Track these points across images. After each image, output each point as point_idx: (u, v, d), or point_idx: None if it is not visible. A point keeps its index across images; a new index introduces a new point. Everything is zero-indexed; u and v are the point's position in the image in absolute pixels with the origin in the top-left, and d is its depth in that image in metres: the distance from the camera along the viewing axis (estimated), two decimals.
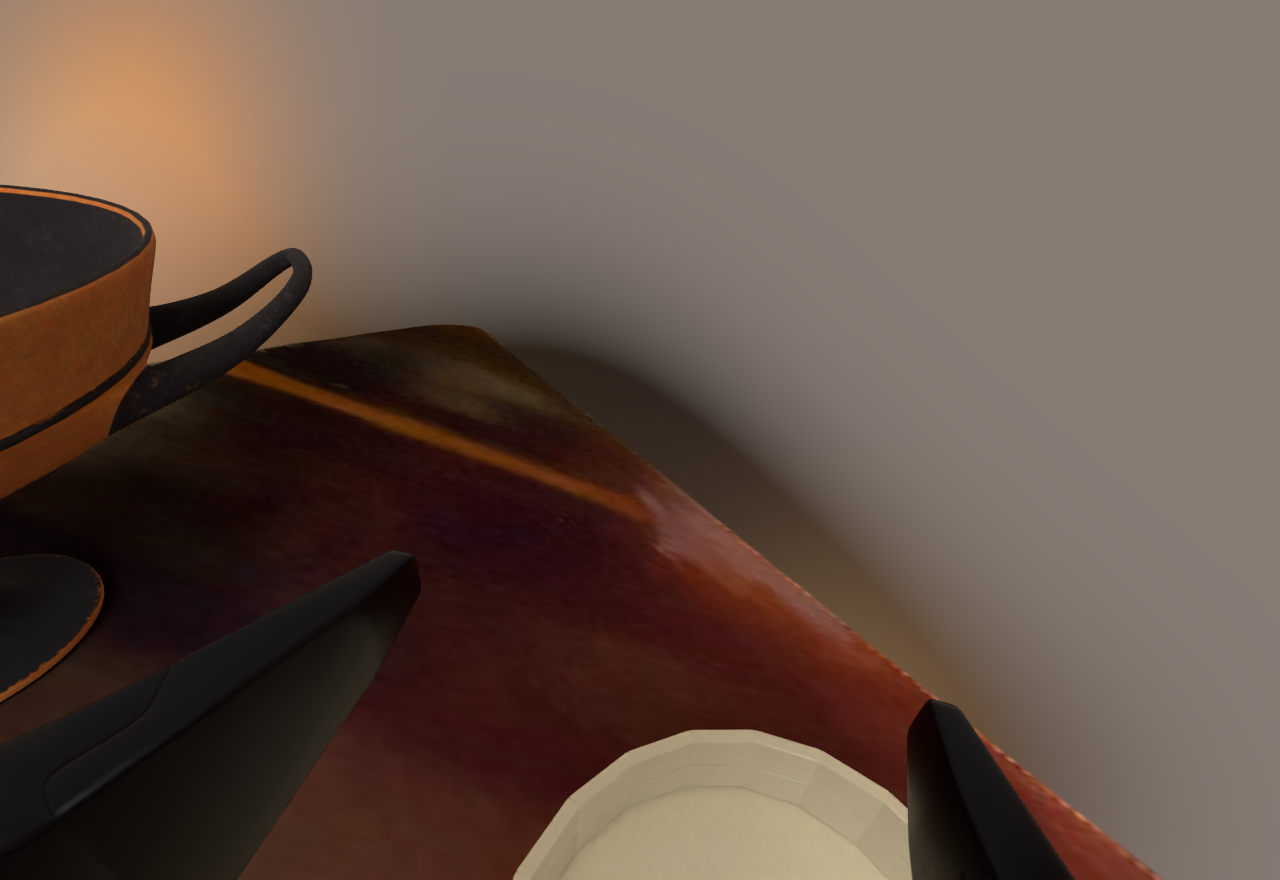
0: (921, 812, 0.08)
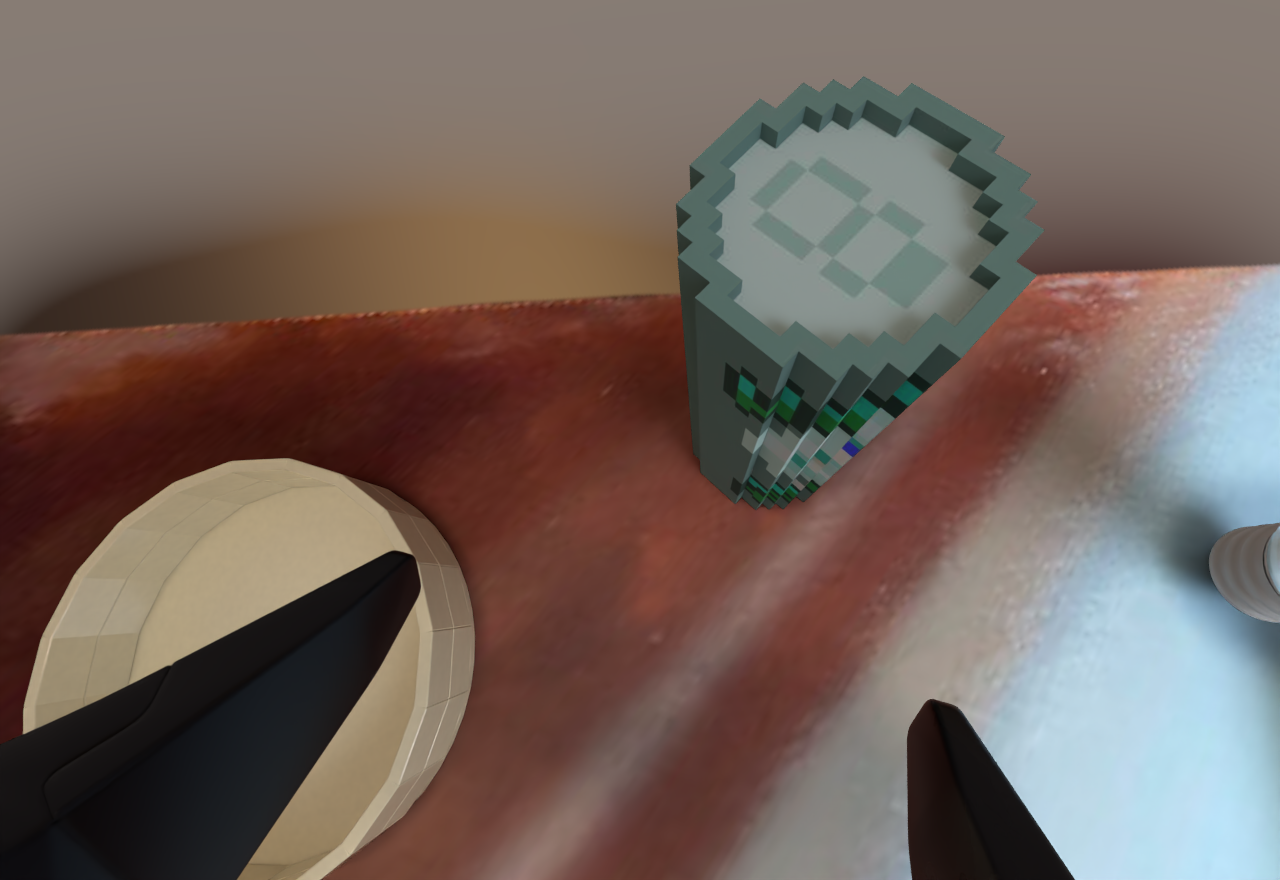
0: (921, 812, 0.08)
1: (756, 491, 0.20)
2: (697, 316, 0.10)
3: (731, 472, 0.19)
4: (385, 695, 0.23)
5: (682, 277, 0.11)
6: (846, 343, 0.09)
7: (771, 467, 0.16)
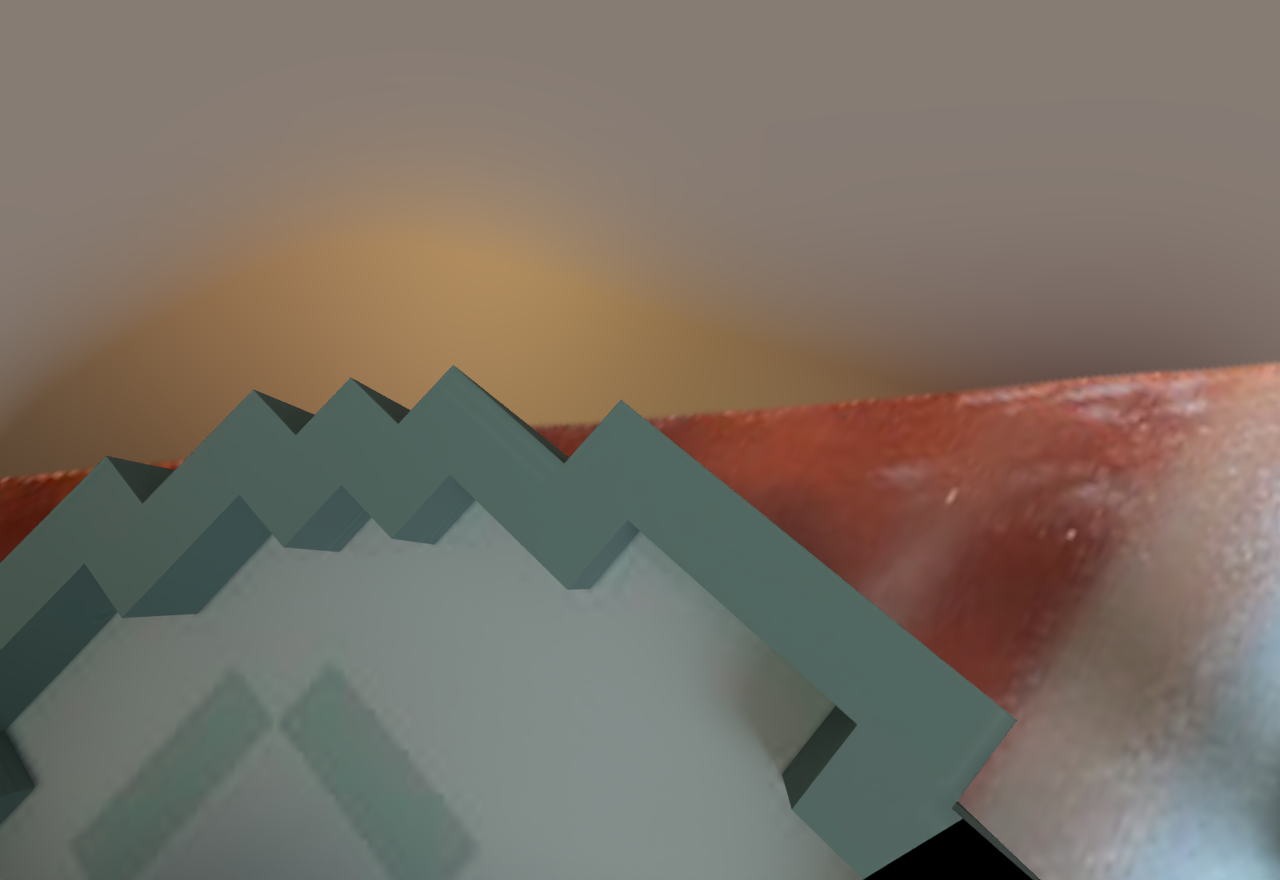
0: None
1: None
2: None
3: None
4: None
5: None
6: None
7: None
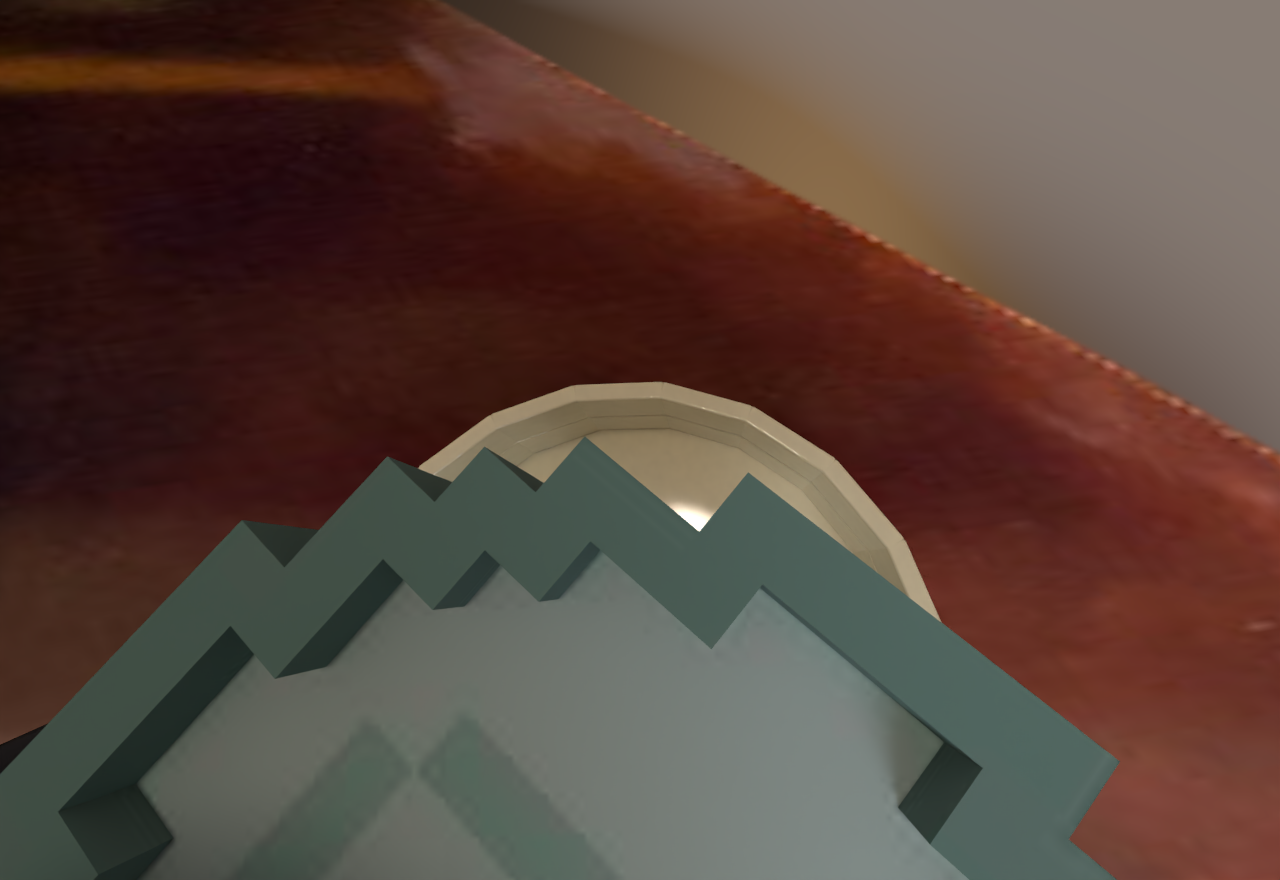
0: None
1: None
2: None
3: None
4: None
5: None
6: None
7: None
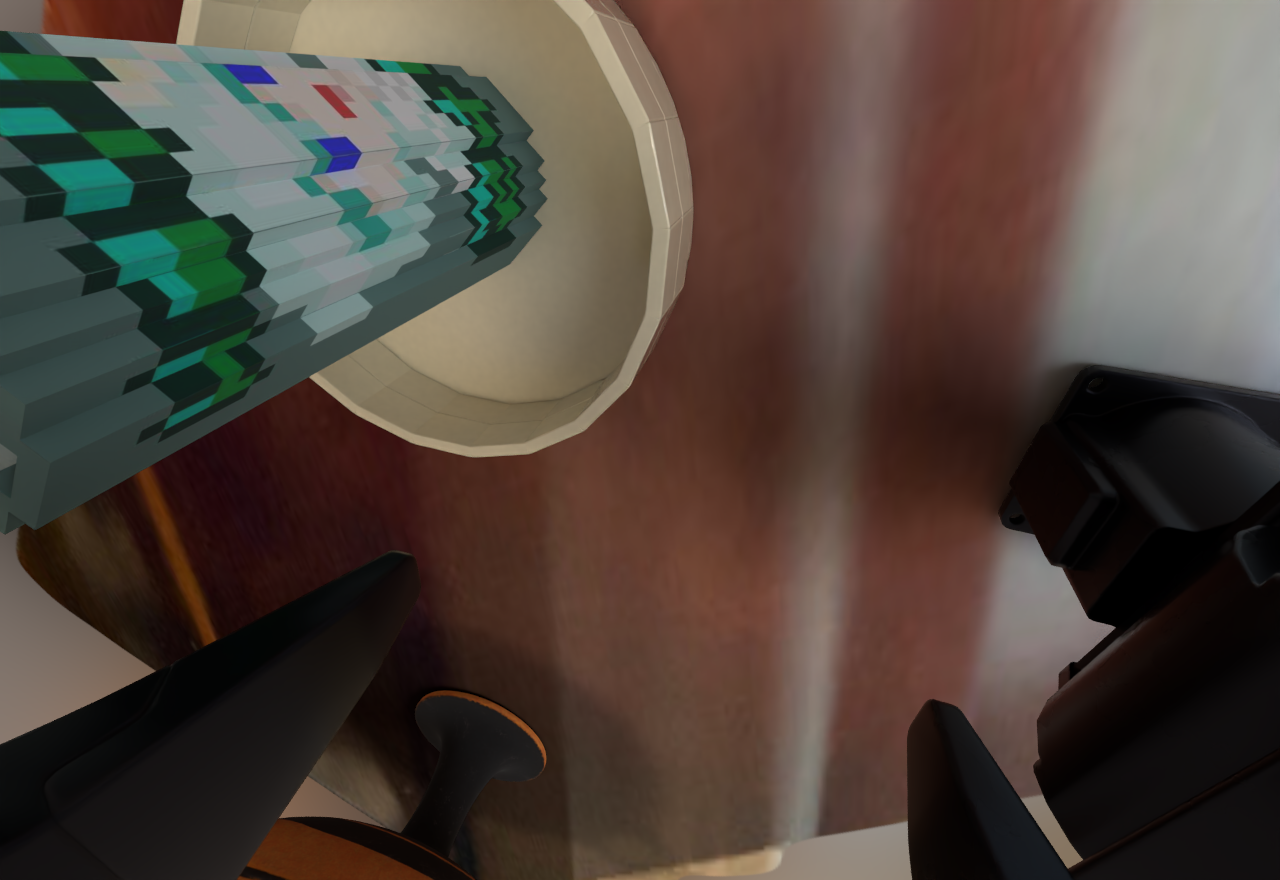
0: (921, 812, 0.08)
1: (497, 224, 0.16)
2: (83, 501, 0.08)
3: (461, 271, 0.15)
4: (568, 139, 0.17)
5: None
6: None
7: (409, 259, 0.13)
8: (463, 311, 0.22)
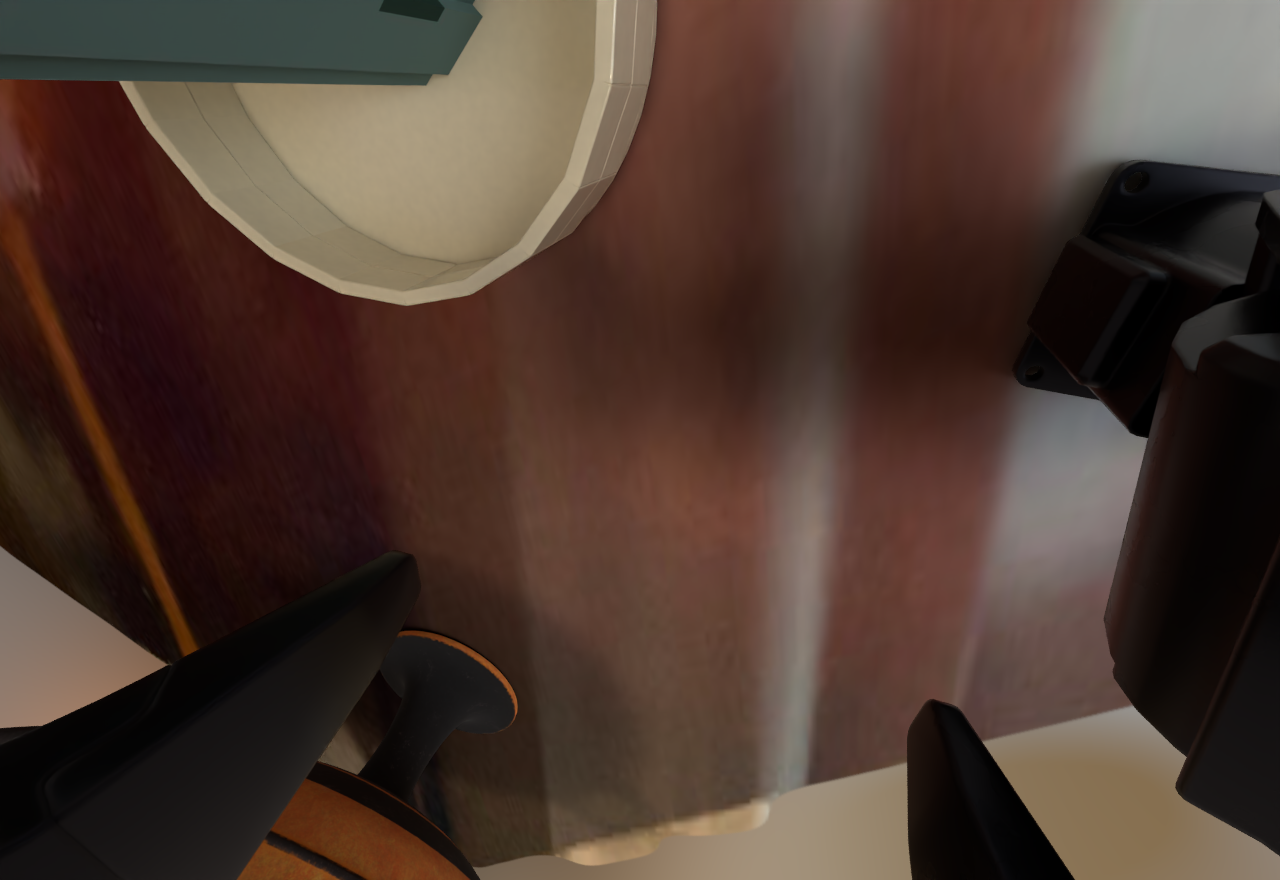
0: (921, 812, 0.08)
1: None
2: None
3: (366, 13, 0.13)
4: None
5: None
6: None
7: None
8: (400, 144, 0.19)
